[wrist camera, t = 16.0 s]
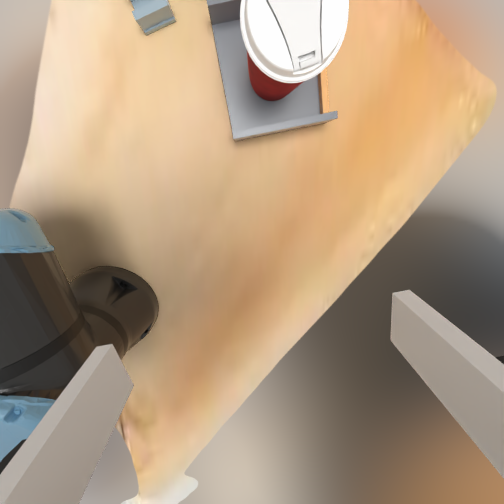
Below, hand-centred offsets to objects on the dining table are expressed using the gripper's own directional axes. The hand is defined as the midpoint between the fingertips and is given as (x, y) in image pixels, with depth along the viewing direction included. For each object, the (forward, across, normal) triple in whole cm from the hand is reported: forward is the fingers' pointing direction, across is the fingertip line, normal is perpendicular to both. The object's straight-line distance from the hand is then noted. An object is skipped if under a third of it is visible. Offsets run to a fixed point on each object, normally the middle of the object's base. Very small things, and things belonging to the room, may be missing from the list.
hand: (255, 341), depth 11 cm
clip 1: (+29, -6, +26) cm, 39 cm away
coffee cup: (+28, +7, +17) cm, 34 cm away
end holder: (+29, +7, +17) cm, 34 cm away
